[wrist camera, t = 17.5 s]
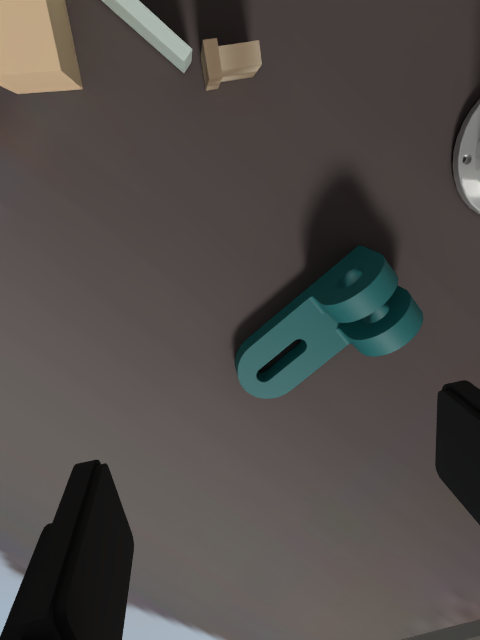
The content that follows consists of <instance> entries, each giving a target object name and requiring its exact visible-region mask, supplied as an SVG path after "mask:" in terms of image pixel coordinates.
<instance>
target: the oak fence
mask: <svg viewBox="0 0 480 640" xmlns="http://www.w3.org/2000/svg"><path fill="white" fill-rule="evenodd" d="M200 57H201V63H202V69H203V75H204V81H205V88H206V91H207V90H213V89H218V87H219V85H220V83H221V82H224V81H230V80H237V79H243V78H250V77H253V76H254V75H255V73H256V72H257V70H258V69H259V68H260V66H261V65H262V62H261V54H260V45H259V40H258V41H251V42H244V43H237V44H230V45H223V46H218V42H217V38H213V39H206V40H203V42H202V49H201V56H200Z"/></svg>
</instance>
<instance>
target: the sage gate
mask: <svg viewBox="0 0 480 640" xmlns="http://www.w3.org/2000/svg"><path fill="white" fill-rule="evenodd" d="M101 1H103V2H104V3H105V4H106V5H107V6H108V7H109V8H111V9H112V10H113V11H114V12H115V13H116V14H117V15H118V16H120V17H121V18H122V19H123V20H124V21H125V22H126V23H127V24H129V25H130V26H131V27H132V28H133V29H134V30H135V31H137V32H138V33H139V34H140V35H141V36H142V37H143V38H144V39H146V40H147V41H148V42H149V43H150V44H151V45H152V46H153V47H155V48H156V49H157V50H158V51H159V52H160V53H161V54H163V55H164V56H165V57H166V58H167V59H168V60H169V61H170V62H172V63H173V64H174V65H175V66H176V67H177V68H178V69H180V70H181V71H182V72H183V73H185V71H186V70H187V68H188V67H189V65H190V63H191V59H192V49H191V48H190V47H189V46H188V45H187V44H186V43H185V42H184V41H183V40H182V39H181V38H179V37H178V36H177V35H176V34H175V33H174V32H173V31H172V30H171V29H170V28H168V27H167V26H166V25H165V24H164V23H163V22H162V21H161V20H160V19H159V18H158V17H156V16H155V15H154V14H153V13H152V12H151V11H150V10H149V9H148V8H147V7H146V6H144V5H143V4H142V3H141V2H140V1H139V0H101Z"/></svg>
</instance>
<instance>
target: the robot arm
mask: <svg viewBox="0 0 480 640" xmlns="http://www.w3.org/2000/svg"><path fill="white" fill-rule="evenodd" d="M453 174H454V180H455V184H456V187H457V190H458V192H459V194H460V196H461V198H462V199H463V201H464V202H465V203H466V204H467V205H468V206H469V208H471V209H472V210H474V211H475V212H477V213H478V214H480V99H479V100H478V101H477V102H476V104H475V105H474V106H473V107H472V108H471V110H470V111H469V113H468V115H467V117H466V118H465V120H464V122H463V124H462V126H461V128H460V131H459V133H458V136H457V139H456V143H455V148H454V154H453ZM435 465H436V470H437V473H438V475H439V477H440V478H441V480H442V481H443V482H444V483H445V484H446V486H447V487H448V488H449V489H450V490H451V492H452V493H453V494H454V495H455V496H456V497H457V499H458V500H459V501H460V502H461V503H462V505H463V506H464V507H465V508H466V509H467V510H468V512H469V513H470V514H471V515H472V516H473V518H474V519H475V520H476V521H477V522H478V523H479V525H480V389H478V388H477V387H475V386H474V385H473V384H471V383H470V382H468V381H465V380H463V381H458V382H454V383H449V384H445V385H444V386H443V388H442V391H439V393H438V399H437V431H436V462H435ZM133 552H134V541H133V536H132V533H131V530H130V527H129V524H128V521H127V518H126V515H125V513H124V510H123V507H122V504H121V501H120V498H119V496H118V493H117V490H116V487H115V484H114V481H113V479H112V476H111V473H110V470H109V467H108V465H107V464H101V463H100V461H99V460H93V461H88V462H83V463H79V464H76V465H75V466H74V467H73V470H72V472H71V475H70V478H69V480H68V483H67V486H66V488H65V491H64V494H63V496H62V499H61V502H60V504H59V507H58V510H57V512H56V515H55V518H54V520H53V523H51V524H47V525H46V526H45V527H44V529H43V531H42V533H41V535H40V538H39V540H38V543H37V545H36V548H35V550H34V553H33V555H32V558H31V560H30V563H29V565H28V568H27V571H26V573H25V576H24V578H23V581H22V583H21V586H20V588H19V591H18V593H17V596H16V598H15V601H14V603H13V606H12V608H11V611H10V614H9V616H8V619H7V621H6V624H5V626H4V629H3V631H2V634H1V636H0V640H122V635H123V628H124V620H125V612H126V605H127V597H128V590H129V582H130V575H131V567H132V559H133ZM402 640H480V620H476V621H472V622H468V623H464V624H460V625H456V626H452V627H448V628H444V629H441V630H437V631H433V632H429V633H425V634H421V635H418V636H414V637H410V638H406V639H402Z"/></svg>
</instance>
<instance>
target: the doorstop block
mask: <svg viewBox="0 0 480 640" xmlns="http://www.w3.org/2000/svg"><path fill="white" fill-rule="evenodd" d="M0 86H2V87H4V88H6V89H8V90H10V91H12V92H14V93H16V94H24V93H37V92H51V91H64V90H78V89H83V87H82V82H81V77H80V72H79V67H78V62H77V57H76V52H75V47H74V43H73V38H72V33H71V28H70V23H69V18H68V13H67V8H66V3H65V0H0Z"/></svg>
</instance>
